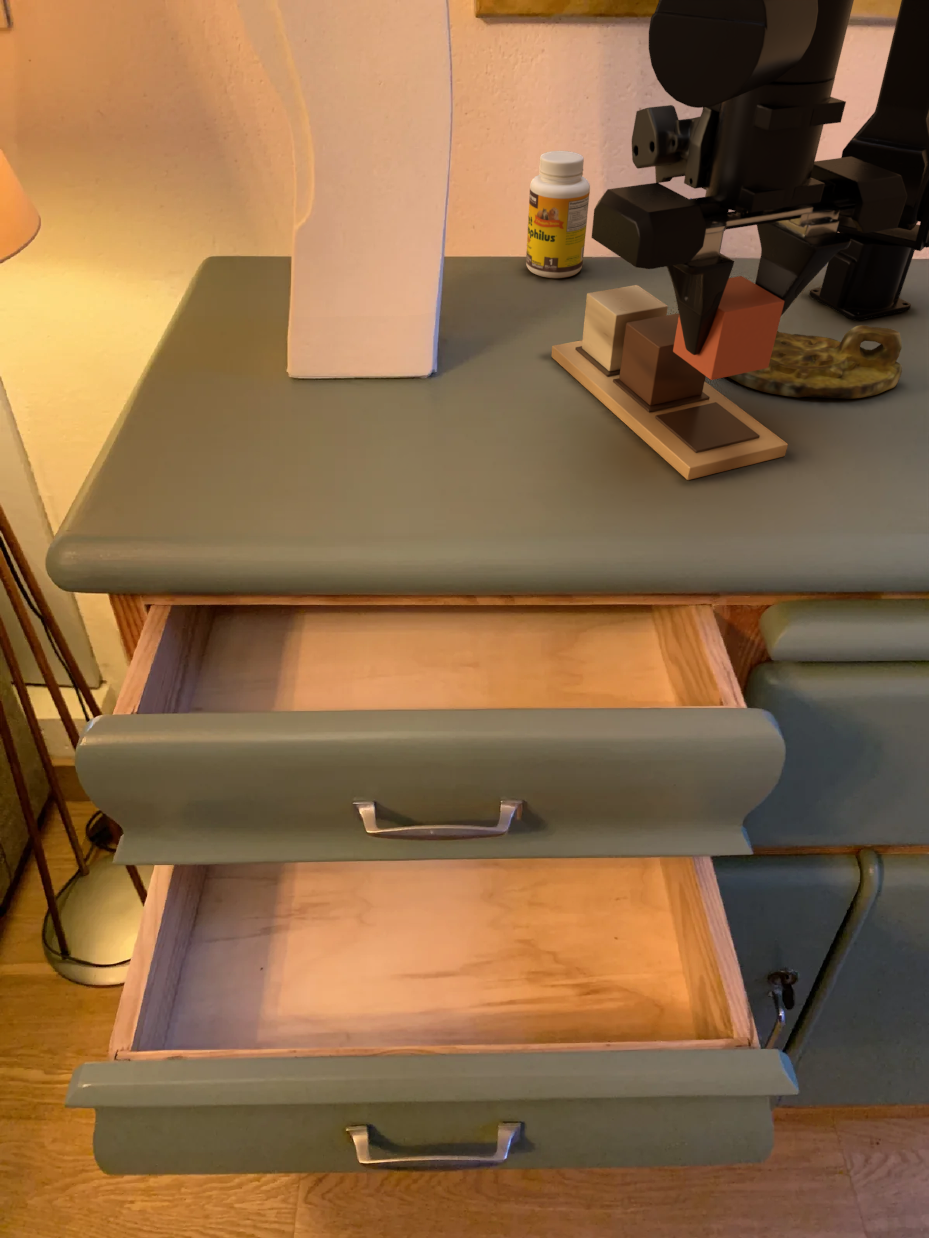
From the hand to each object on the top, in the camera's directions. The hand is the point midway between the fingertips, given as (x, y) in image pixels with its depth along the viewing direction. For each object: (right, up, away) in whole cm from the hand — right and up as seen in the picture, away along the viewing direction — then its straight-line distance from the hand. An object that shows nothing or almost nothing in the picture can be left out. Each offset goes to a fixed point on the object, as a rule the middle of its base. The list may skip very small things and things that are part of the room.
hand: (723, 346), depth 59 cm
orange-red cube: (0, -1, +1) cm, 1 cm away
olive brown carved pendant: (+10, +2, +13) cm, 16 cm away
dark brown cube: (-2, -1, +8) cm, 8 cm away
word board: (-2, -2, +9) cm, 9 cm away
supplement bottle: (-8, +16, +29) cm, 34 cm away
